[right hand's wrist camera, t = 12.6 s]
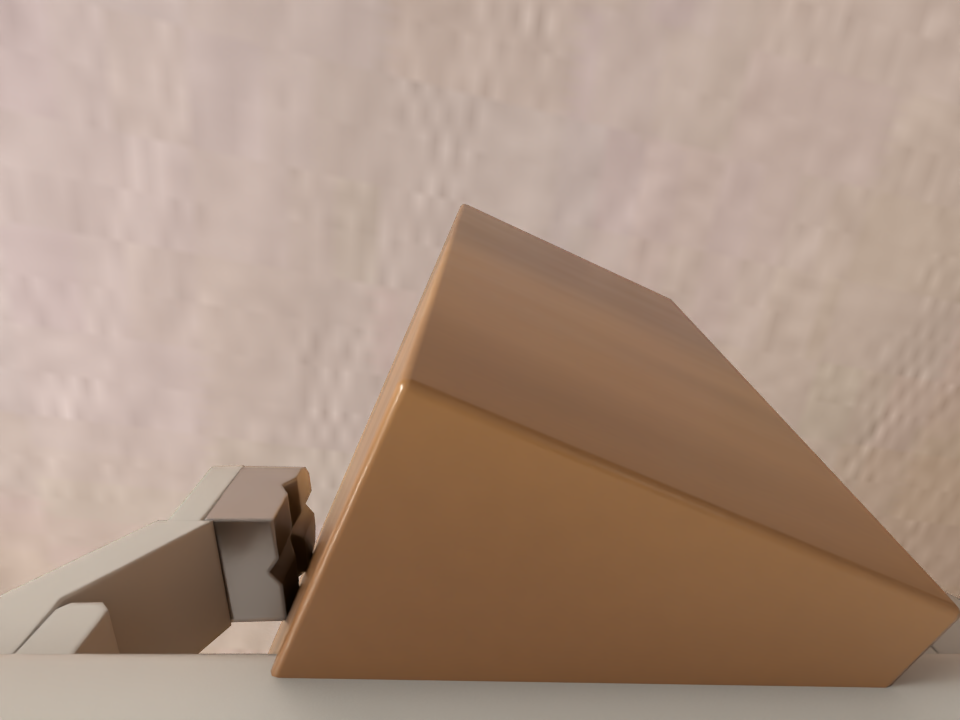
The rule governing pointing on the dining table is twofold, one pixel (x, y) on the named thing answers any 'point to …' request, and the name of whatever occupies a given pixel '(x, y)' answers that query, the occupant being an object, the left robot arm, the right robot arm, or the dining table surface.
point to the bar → (591, 505)
